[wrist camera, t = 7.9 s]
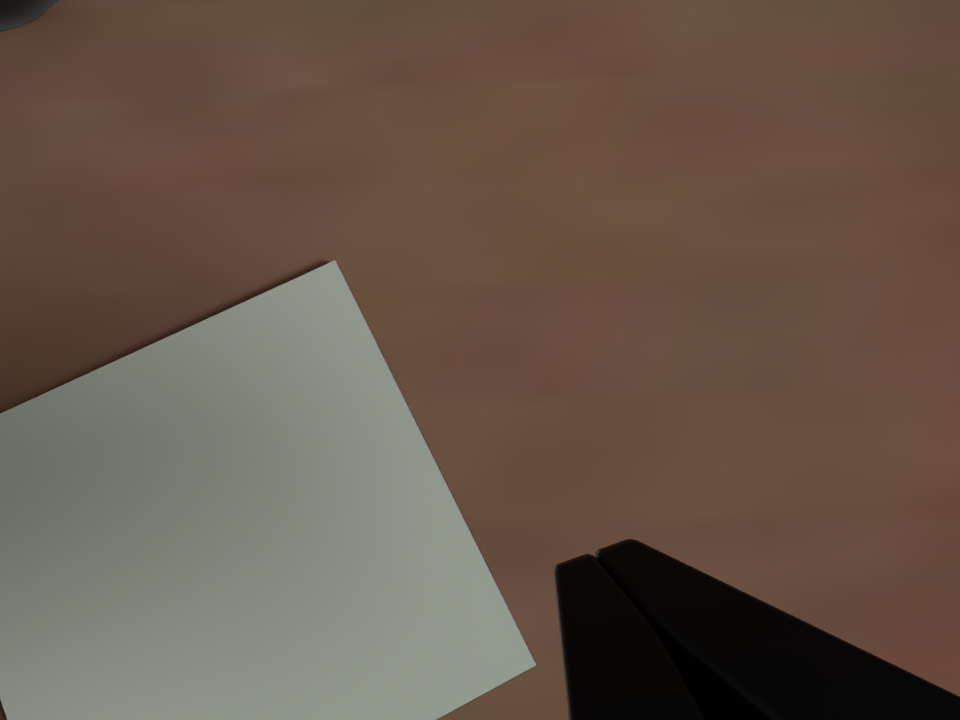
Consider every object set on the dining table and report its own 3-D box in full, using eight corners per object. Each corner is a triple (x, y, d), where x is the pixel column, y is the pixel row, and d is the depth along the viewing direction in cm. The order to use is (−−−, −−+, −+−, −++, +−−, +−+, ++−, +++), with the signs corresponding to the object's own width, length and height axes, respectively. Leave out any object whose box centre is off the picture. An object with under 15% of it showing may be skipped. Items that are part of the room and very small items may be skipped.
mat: (535, 664, 20) (536, 665, 20) (81, 910, 19) (74, 915, 19) (336, 264, 23) (334, 260, 22) (-78, 454, 21) (-85, 452, 21)
